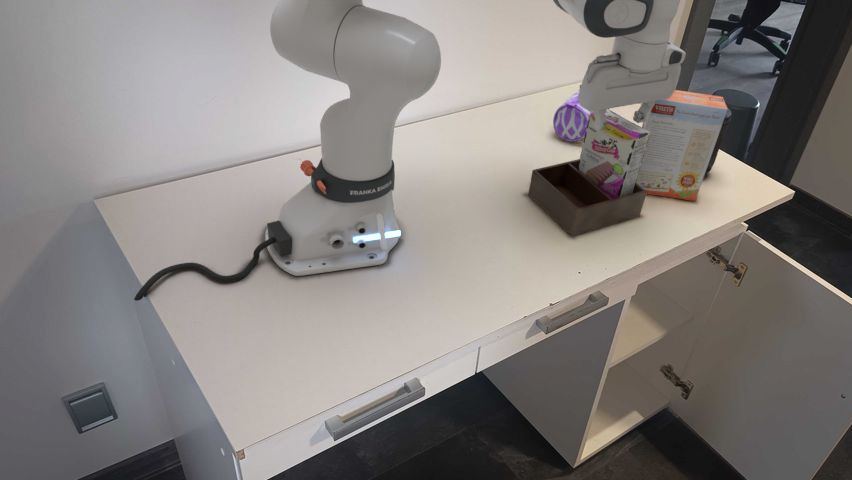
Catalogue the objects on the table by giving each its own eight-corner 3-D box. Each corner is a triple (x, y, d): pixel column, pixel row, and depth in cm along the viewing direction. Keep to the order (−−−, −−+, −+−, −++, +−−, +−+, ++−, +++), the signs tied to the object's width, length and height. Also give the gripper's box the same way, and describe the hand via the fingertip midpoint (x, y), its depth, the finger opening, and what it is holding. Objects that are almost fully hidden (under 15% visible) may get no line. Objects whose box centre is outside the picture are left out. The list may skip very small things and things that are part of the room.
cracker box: (692, 187, 145) (724, 95, 132) (695, 202, 141) (729, 109, 127) (626, 176, 145) (652, 84, 132) (628, 192, 141) (655, 97, 127)
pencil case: (577, 102, 170) (584, 65, 164) (612, 112, 168) (621, 76, 162) (547, 138, 154) (554, 99, 148) (586, 150, 152) (595, 111, 146)
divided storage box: (571, 236, 126) (577, 210, 123) (527, 195, 135) (532, 169, 131) (639, 216, 134) (647, 191, 130) (593, 178, 143) (599, 154, 139)
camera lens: (666, 163, 152) (686, 100, 142) (697, 160, 154) (718, 99, 145) (685, 182, 146) (707, 119, 137) (716, 179, 149) (740, 117, 139)
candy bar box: (571, 187, 137) (588, 112, 127) (587, 179, 140) (605, 106, 130) (614, 213, 132) (635, 138, 121) (630, 205, 135) (652, 130, 124)
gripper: (602, 64, 110) (585, 141, 118) (693, 52, 119) (670, 124, 128) (579, 49, 114) (564, 125, 122) (668, 39, 123) (648, 110, 132)
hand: (619, 125), depth 125 cm, fingers open, 8 cm apart
